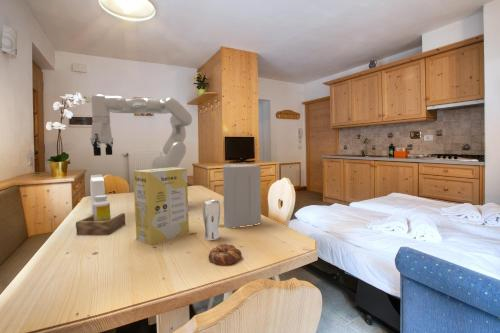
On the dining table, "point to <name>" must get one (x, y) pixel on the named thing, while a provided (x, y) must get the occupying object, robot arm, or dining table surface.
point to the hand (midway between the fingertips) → (103, 155)
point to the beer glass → (211, 219)
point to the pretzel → (224, 254)
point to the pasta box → (160, 204)
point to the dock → (99, 225)
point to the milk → (96, 187)
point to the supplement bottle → (101, 208)
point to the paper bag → (241, 195)
